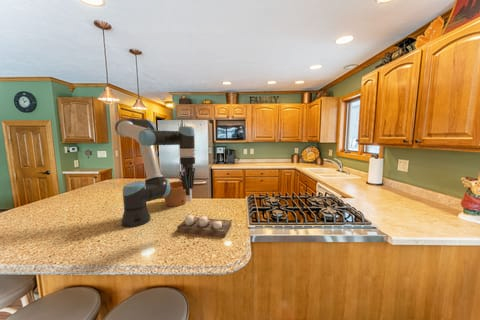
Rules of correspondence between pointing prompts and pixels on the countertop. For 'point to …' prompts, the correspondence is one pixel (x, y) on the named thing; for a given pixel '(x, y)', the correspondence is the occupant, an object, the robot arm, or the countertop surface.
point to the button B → (203, 221)
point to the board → (205, 228)
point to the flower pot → (176, 194)
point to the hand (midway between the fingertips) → (188, 200)
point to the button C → (217, 225)
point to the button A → (189, 220)
